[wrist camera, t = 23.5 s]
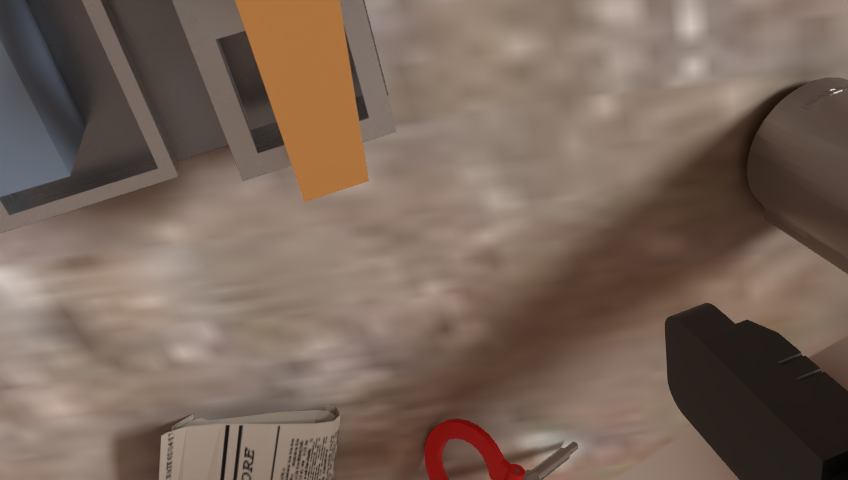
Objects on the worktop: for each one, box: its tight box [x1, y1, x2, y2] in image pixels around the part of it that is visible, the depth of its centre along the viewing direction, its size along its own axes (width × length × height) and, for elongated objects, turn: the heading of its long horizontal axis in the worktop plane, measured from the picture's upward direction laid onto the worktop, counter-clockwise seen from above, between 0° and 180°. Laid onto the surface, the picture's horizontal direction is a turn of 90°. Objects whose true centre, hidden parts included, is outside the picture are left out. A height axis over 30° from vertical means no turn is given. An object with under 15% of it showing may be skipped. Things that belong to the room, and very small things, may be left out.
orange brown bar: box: [235, 0, 369, 202], centre depth 26 cm, size 3×3×12 cm
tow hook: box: [425, 419, 578, 480], centre depth 53 cm, size 7×10×7 cm
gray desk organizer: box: [0, 0, 396, 233], centre depth 28 cm, size 16×20×14 cm
